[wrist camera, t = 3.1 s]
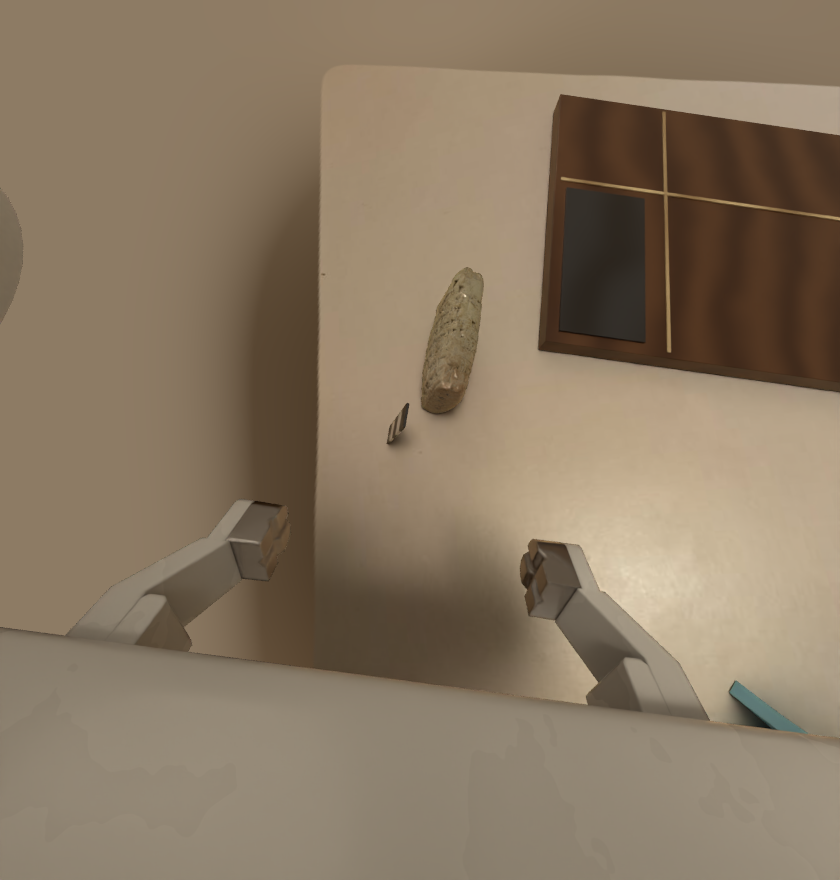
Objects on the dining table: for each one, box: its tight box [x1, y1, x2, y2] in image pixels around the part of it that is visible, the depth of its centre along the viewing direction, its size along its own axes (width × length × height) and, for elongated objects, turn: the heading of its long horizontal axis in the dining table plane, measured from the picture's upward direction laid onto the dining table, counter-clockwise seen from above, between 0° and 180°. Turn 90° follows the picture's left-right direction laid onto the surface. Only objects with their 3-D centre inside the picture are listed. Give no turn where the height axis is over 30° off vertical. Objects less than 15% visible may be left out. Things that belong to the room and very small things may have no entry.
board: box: [539, 94, 840, 392], centre depth 29 cm, size 42×26×2 cm, turn 82°
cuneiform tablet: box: [387, 267, 484, 444], centre depth 23 cm, size 7×4×12 cm
